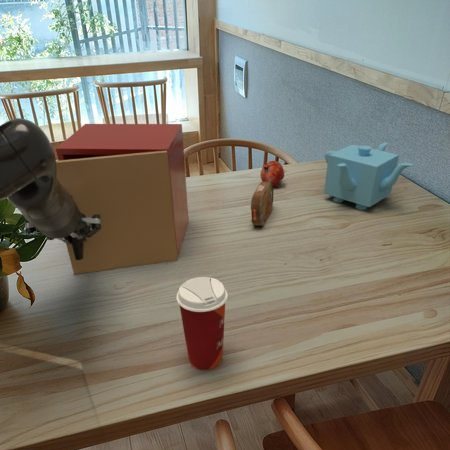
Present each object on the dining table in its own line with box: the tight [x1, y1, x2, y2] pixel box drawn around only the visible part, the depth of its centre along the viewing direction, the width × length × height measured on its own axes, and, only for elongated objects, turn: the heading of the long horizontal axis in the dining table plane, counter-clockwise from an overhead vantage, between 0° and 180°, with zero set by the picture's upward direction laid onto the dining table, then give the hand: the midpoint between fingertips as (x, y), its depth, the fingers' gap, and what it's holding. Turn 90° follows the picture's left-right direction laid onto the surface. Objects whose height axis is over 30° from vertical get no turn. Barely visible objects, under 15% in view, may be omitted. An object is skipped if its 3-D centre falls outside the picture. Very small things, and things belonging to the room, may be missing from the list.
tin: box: [250, 181, 274, 227], centre depth 114 cm, size 15×3×8 cm, turn 163°
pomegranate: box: [259, 160, 285, 188], centre depth 133 cm, size 7×7×10 cm
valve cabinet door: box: [56, 151, 178, 275], centre depth 89 cm, size 7×22×24 cm, turn 104°
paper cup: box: [175, 276, 229, 371], centre depth 70 cm, size 8×8×14 cm
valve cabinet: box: [55, 123, 190, 259], centre depth 102 cm, size 18×22×24 cm
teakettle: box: [323, 141, 414, 211], centre depth 120 cm, size 19×19×15 cm
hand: (75, 239), depth 87 cm, fingers closed on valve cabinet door
